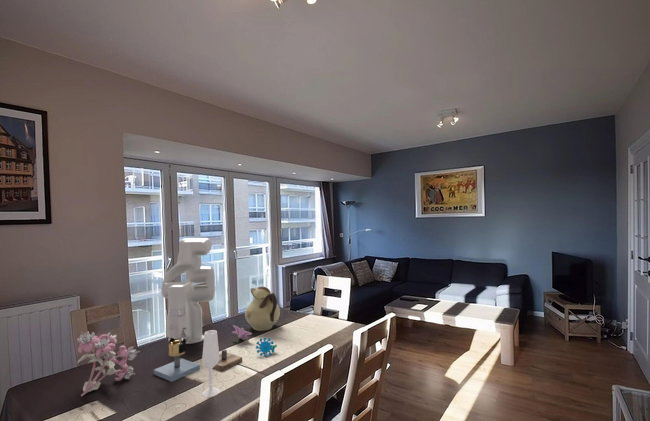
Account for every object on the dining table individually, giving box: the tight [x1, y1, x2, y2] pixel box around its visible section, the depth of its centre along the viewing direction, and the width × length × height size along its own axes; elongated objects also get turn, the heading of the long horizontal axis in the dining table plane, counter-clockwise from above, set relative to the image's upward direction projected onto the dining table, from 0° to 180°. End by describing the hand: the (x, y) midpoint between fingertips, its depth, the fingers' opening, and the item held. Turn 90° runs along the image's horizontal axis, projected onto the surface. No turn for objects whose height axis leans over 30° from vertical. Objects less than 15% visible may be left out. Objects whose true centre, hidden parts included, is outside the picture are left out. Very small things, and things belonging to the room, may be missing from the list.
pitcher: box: [244, 286, 281, 332], centre depth 208 cm, size 22×24×25 cm
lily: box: [231, 324, 253, 345], centre depth 183 cm, size 12×12×10 cm
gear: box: [255, 337, 278, 358], centre depth 166 cm, size 11×6×10 cm
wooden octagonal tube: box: [168, 339, 186, 357], centre depth 147 cm, size 7×7×5 cm
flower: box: [77, 330, 141, 397], centre depth 136 cm, size 20×22×25 cm
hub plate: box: [153, 355, 201, 383], centre depth 147 cm, size 14×14×6 cm
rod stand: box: [212, 349, 243, 372], centre depth 155 cm, size 12×12×6 cm
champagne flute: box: [201, 329, 221, 398], centre depth 129 cm, size 7×7×24 cm
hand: (177, 350), depth 147 cm, fingers closed on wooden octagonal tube, 6 cm apart
